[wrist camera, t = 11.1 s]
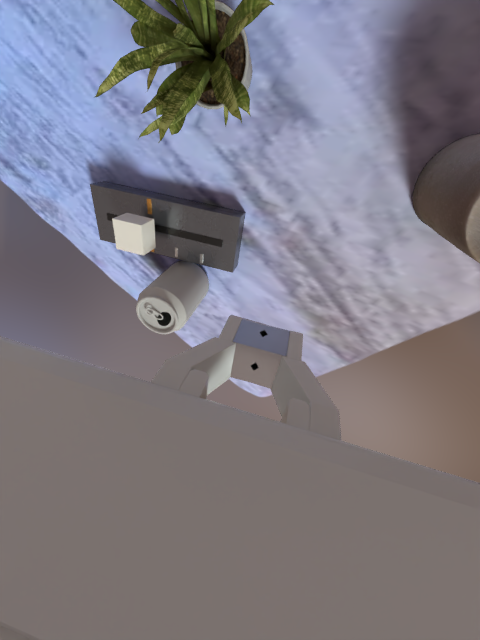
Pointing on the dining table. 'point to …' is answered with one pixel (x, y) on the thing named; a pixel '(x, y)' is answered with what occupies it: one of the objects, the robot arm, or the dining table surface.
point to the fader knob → (134, 233)
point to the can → (172, 297)
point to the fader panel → (174, 224)
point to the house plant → (190, 57)
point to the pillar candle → (452, 194)
